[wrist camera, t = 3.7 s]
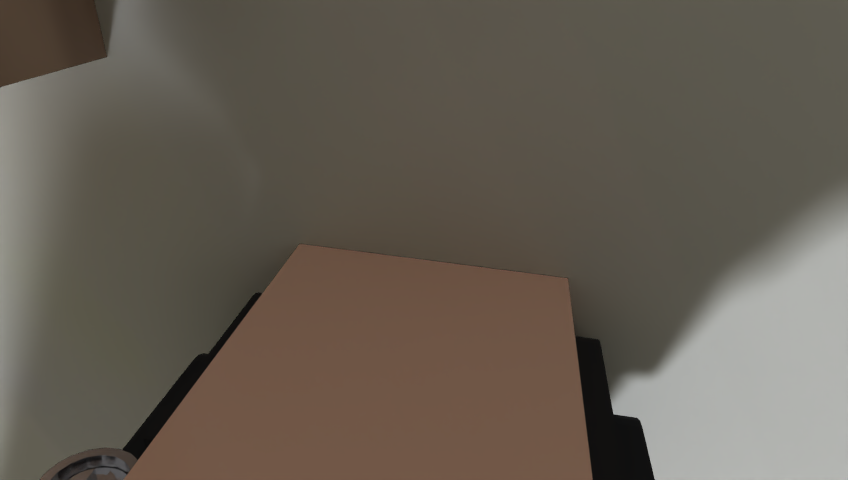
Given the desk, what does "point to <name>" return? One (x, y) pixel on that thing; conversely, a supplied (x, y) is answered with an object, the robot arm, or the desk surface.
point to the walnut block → (47, 37)
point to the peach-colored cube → (386, 379)
